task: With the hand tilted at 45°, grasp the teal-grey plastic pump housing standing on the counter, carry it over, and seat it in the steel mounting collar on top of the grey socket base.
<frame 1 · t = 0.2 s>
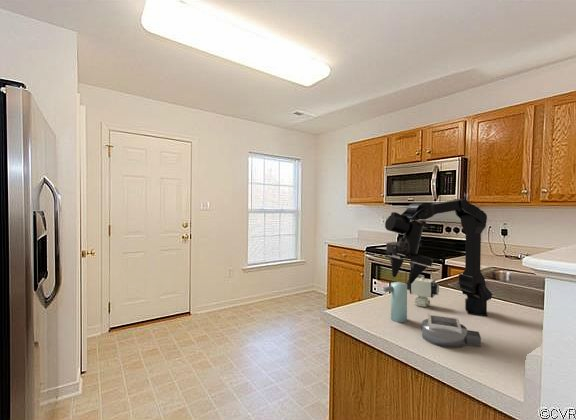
hand: (401, 279, 107), 15 cm above the counter, tool tilted 15°, fingers open, 9 cm apart
pump housing: (398, 319, 110), on the counter
grey socket base: (443, 338, 94), on the counter
pneumatic valve: (422, 305, 125), on the counter
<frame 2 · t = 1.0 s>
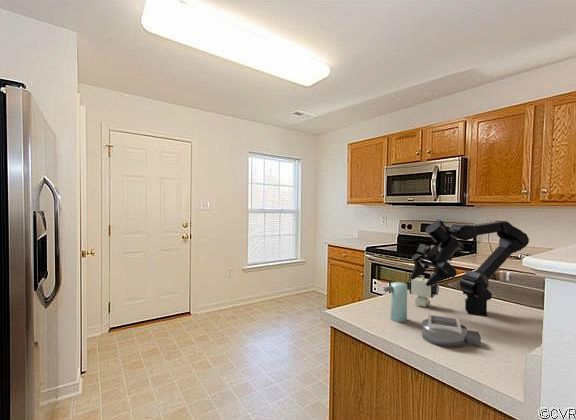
hand: (418, 282, 111), 13 cm above the counter, tool tilted 45°, fingers open, 9 cm apart
nothing on the counter moved.
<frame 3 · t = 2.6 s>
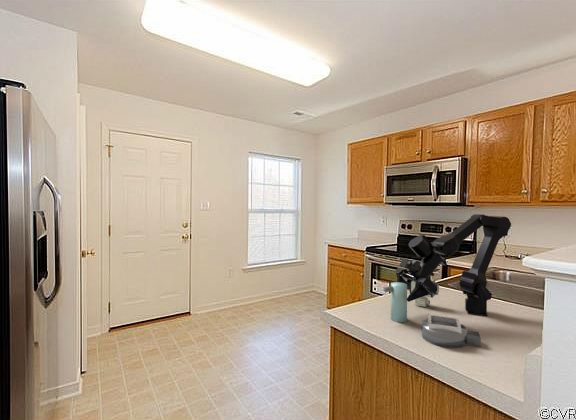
hand: (400, 296, 110), 8 cm above the counter, tool tilted 45°, fingers open, 9 cm apart
nothing on the counter moved.
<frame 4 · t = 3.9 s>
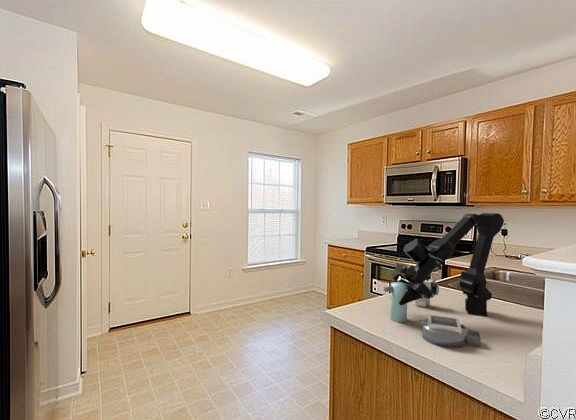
hand: (395, 301, 110), 7 cm above the counter, tool tilted 45°, fingers closed on pump housing, 6 cm apart
pump housing: (398, 319, 110), on the counter, touching gripper
everything else where it was.
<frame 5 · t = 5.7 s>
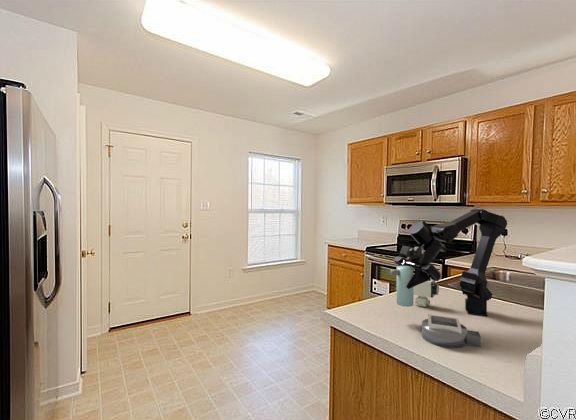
hand: (401, 285, 106), 13 cm above the counter, tool tilted 45°, fingers closed on pump housing, 6 cm apart
pump housing: (404, 303, 107), point 7 cm above the counter, touching gripper
everything else where it was.
when the fingers open (11 cm above the counter, at t = 8.0 s): pump housing stays where it is, resting on grey socket base.
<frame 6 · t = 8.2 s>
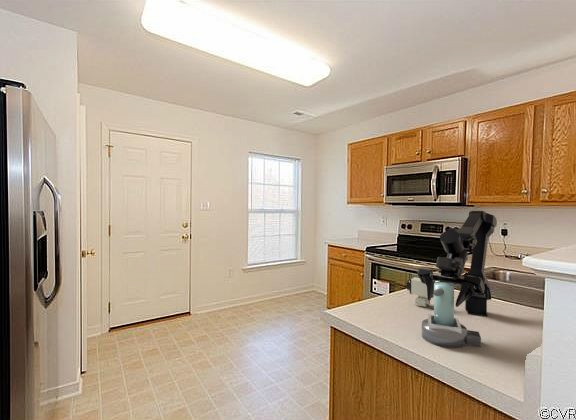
hand: (442, 302, 93), 12 cm above the counter, tool tilted 45°, fingers open, 8 cm apart
pump housing: (443, 325, 94), point 4 cm above the counter, touching grey socket base
everything else where it was.
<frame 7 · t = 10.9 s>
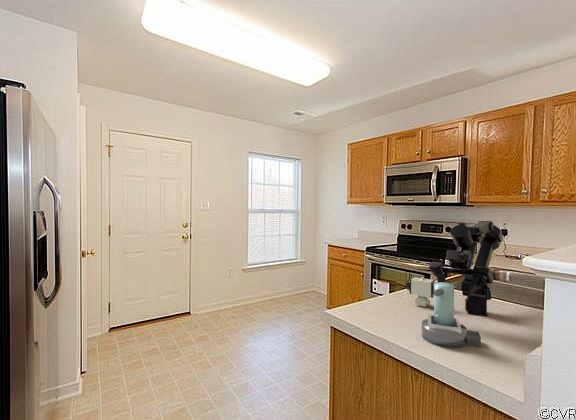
hand: (453, 293, 100), 13 cm above the counter, tool tilted 45°, fingers open, 9 cm apart
nothing on the counter moved.
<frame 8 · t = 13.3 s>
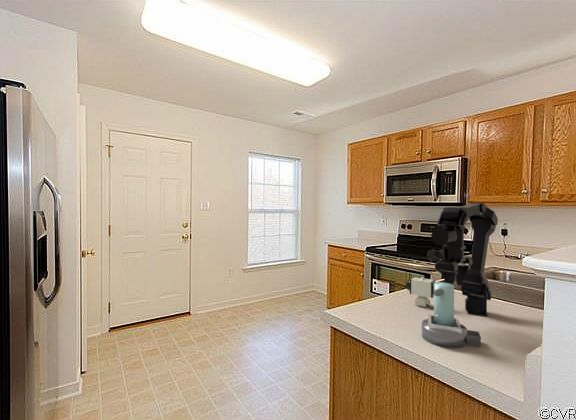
hand: (454, 287, 105), 13 cm above the counter, tool pointing down, fingers open, 9 cm apart
nothing on the counter moved.
at the end: pump housing 0.0 cm off-centre on the grey socket base, point 4.0 cm above the grey socket base's base; pump housing tilted 0°; the gripper is holding nothing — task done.
